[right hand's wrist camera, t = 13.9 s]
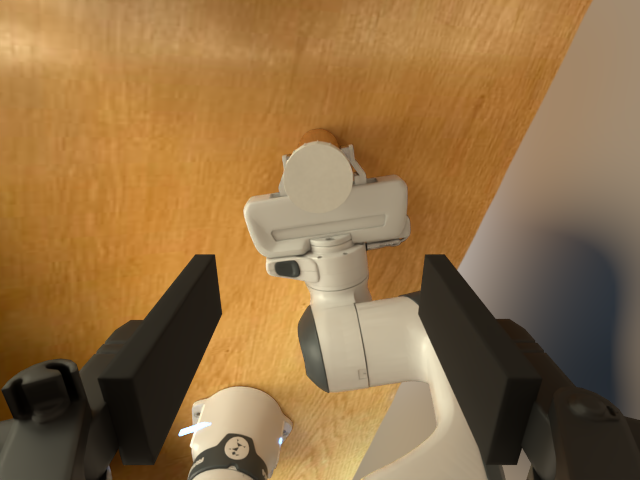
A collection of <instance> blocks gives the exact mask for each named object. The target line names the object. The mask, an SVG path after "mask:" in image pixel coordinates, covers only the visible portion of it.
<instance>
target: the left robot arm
mask: <svg viewBox="0 0 640 480" xmlns="http://www.w3.org/2000/svg"><path fill="white" fill-rule="evenodd" d="M340 149H341V150H342V152H343V153H344V154H345V156H346V157H347V159H349V161H350V163H351V165H352V166H353V167H354V169H355V170H356V171H357V172H354V173H353V178H354V181H353V185H352V189H351V192H350V194H349V196H348V197H347V199H346V200H345V201H344V202H343V203H342V204H341V205H340V206H339V207H337V208H336V209H334V210H332V211H329V212H325V213H311V212H307V211H305V210H302V209H301V208H299V207H298V206H296V205H295V204H294V203H293V202H292V201H291V200H290V198H289V197H288V195H287V193H286V191H285V188H284V183H283V176H282V179H281V182H280V185H279V192H278V193H271V194H265V195H258V196H253V197H251V198H250V199H249V200H248V201H247V203H246V205H245V207H244V217H245V221H246V224H247V227H248V230H249V233H250V235H251V238H252V240H253V243H254V245H255V247H256V249H257V250H258V251H259V253H260V254H262V255H263V256H265V257H267V258H266V270H267V272H268V274H269V275H271V276H275V277H283V278H290V279H296V280H301V281H305V284H306V286H307V288H308V290H309V292H310V295H311V300H310V305H309V306H308V307H307V309H306V310H305V312H304V313H303V315H302V317H301V319H300V321H299V323H298V337H299V342H300V346H301V350H302V354H303V357H304V361H305V368H306V374H307V376H308V377H309V378H310V379H311V380H312V381H313V382H314V383H315V384H316V385H317V386H318V387H319V388H321V389H322V390H324V391H325V392H327V393H329V392H344V391H351V390H358V389H365V388H369V387H373V386H380V385H387V384H393V383H400V382H407V381H419V382H424V383H427V384H429V387H430V392H431V397H432V403H433V408H434V413H435V418H436V423H437V427H436V429H435V430H434V432H433V433H432V434H431V435H430V436H429V437H428V438H427V439H426V440H425V441H424V442H422V443H421V444H420V445H419V446H417V447H416V448H415V449H413V450H412V451H410V452H409V453H407V454H406V455H404V456H402V457H401V458H399V459H397V460H396V461H394V462H392V463H390V464H388V465H386V466H384V467H382V468H380V469H378V470H376V471H374V472H372V473H370V474H368V475H367V476H365V477H363V478H362V479H360V480H506V479H505V475H504V471H503V467H502V465H486V464H485V461H484V459H483V457H482V455H481V452H480V450H479V448H478V446H477V444H476V441H475V439H474V437H473V435H472V433H471V430H470V428H469V426H468V424H467V421H466V419H465V417H464V415H463V413H462V410H461V408H460V406H459V404H458V402H457V399H456V397H455V395H454V393H453V391H452V388H451V386H450V384H449V382H448V379H447V377H446V375H445V373H444V371H443V368H442V366H441V364H440V362H439V360H438V357H437V355H436V353H435V351H434V348H433V346H432V344H431V342H430V340H429V337H428V335H427V333H426V331H425V329H424V326H423V324H422V322H421V320H420V317H419V315H418V309H419V301H420V293H421V291H417V292H413V293H409V294H404V295H400V296H398V297H394V298H388V299H381V300H375V301H372V297H371V294H370V292H369V290H368V286H367V285H368V278H369V270H368V261H367V252H366V251H367V250H373V249H379V248H383V247H389V246H390V247H394V246H398V245H400V243H401V242H403V241H405V240H406V239H407V238H408V237H409V235H410V232H411V227H410V219H409V217H408V215H407V201H408V191H407V185H406V183H405V181H404V180H403V179H402V178H400V177H399V176H398V175H387V176H381V177H374V178H368V179H366V173H365V172H364V170H363V169H362V167H361V166H360V165H359V163H358V162H357V161H356V159H355V157H354V149H353V145H352V144H349V145H343V146H340ZM291 155H292V154H286V155H283V156H282V160H283V165H284V169H285V166H286V162H287V160H289V158H290V156H291ZM283 174H284V173H283ZM399 238H402V239H399ZM365 242H366V243H365ZM192 418H193V426H191V427H188V428H185V429H182V430H181V431H180V433H179V436H182V435H185V434H188V433H191V432H193V433H194V434H193V437H192V440H191V444H190V447H191V448H192V457H193V465H192V467H191V469H190V472H189V475H188V480H267V478H271V476H272V474H273V470H274V469H275V468H276V466H277V463H278V461H279V455H280V449H281V445H282V444H283V442H284V441H285V439H286V438H287V436H288V435H289V433H290V432H291V430H292V427H293V423H292V421H291V420H290V419H289V418H288V417H286V416H285V415H284V414H283V412H282V411H281V408H280V406H279V405H278V403H277V402H276V401H275V400H274V399H273V398H272V397H271V396H270V395H268V394H267V393H265V392H263V391H261V390H258V389H255V388H251V387H243V386H238V387H230V388H226V389H223V390H221V391H219V392H217V393H215V394H214V395H213V396H211V397H209V398H207V399H203V400H199V401H196V402H195V403H194V404H193V407H192Z"/></svg>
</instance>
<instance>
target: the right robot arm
mask: <svg viewBox="0 0 640 480" xmlns="http://www.w3.org/2000/svg"><path fill="white" fill-rule="evenodd" d="M221 315H222V309H221V301H220V293H219V284H218V276H217V268H216V260H215V255H195V256H194V257H193V258H192V259H191V261H190V262H189V263H188V265H187V266H186V267H185V268H184V270H183V271H182V272H181V273H180V275H179V276H178V277H177V278H176V280H175V281H174V282H173V283H172V285H171V286H170V287H169V289H168V290H167V291H166V292H165V294H164V295H163V296H162V297H161V299H160V300H159V301H158V302H157V304H156V305H155V306H154V307H153V309H152V310H151V311H150V312H149V314H148V315H147V316H146V318H145V319H144V320H130V321H129V322H127V323H126V324H124V325H123V326H121V327H120V328H118V329H116V330H115V331H114V332H113V334H112V335H111V336H110V337H109V338H108V339H107V340H106V341H105V344H103V345H102V346H101V347H100V348H99V349H98V351H97V353H96V354H94V355H93V356H92V357H91V359H90V360H89V361H88V362H87V363H86V364H85V365H84V367H83V368H82V369H81V370H80V371H78V368H77V364H75V363H74V362H73V361H71V360H67V359H55V360H48V361H45V362H42V363H39V364H35V365H33V366H31V367H29V368H27V369H25V370H23V371H21V372H19V373H18V374H17V375H15V376H14V377H13V378H11V379H10V380H9V381H8V382H7V383H6V385H5V386H4V387H3V388H2V393H3V395H4V397H5V400H6V402H7V404H8V406H9V409H10V411H11V413H12V416H13V418H14V419H10V420H5V421H1V422H0V480H112V476H111V470H110V467H109V464H110V462H111V461H112V459H113V457H114V455H115V454H116V452H117V450H118V449H119V453H120V456H121V459H122V463H123V465H154V464H155V461H156V459H157V457H158V455H159V452H160V450H161V448H162V446H163V444H164V441H165V439H166V437H167V435H168V433H169V430H170V428H171V426H172V424H173V421H174V419H175V417H176V415H177V413H178V410H179V408H180V406H181V404H182V402H183V399H184V397H185V395H186V393H187V390H188V388H189V386H190V384H191V382H192V379H193V377H194V375H195V373H196V371H197V368H198V366H199V364H200V362H201V360H202V357H203V355H204V353H205V351H206V348H207V346H208V344H209V342H210V340H211V337H212V335H213V333H214V331H215V329H216V326H217V324H218V322H219V320H220V317H221ZM418 315H419V317H420V320H421V322H422V324H423V326H424V329H425V331H426V333H427V335H428V337H429V340H430V342H431V344H432V346H433V348H434V351H435V353H436V355H437V357H438V360H439V362H440V364H441V366H442V368H443V371H444V373H445V375H446V377H447V379H448V382H449V384H450V386H451V388H452V391H453V393H454V395H455V397H456V399H457V402H458V404H459V406H460V408H461V410H462V413H463V415H464V417H465V419H466V421H467V424H468V426H469V428H470V430H471V433H472V435H473V437H474V439H475V441H476V444H477V446H478V448H479V450H480V452H481V455H482V457H483V459H484V461H485V464H486V465H517V463H518V459H519V456H520V453H521V449H522V448H523V450H524V452H525V453H526V455H527V457H528V459H529V460H530V462H531V467H530V470H529V473H528V476H527V479H526V480H640V420H637V419H633V418H628V417H625V416H623V414H622V413H621V412H620V410H619V409H618V408H617V407H616V406H614V405H613V404H612V403H611V402H610V401H609V400H607V399H605V398H603V397H602V396H600V395H598V394H596V393H594V392H591V391H589V390H586V389H583V388H578V387H576V386H575V385H574V384H573V383H572V382H571V381H570V380H569V378H568V377H567V376H566V375H565V374H564V373H563V372H562V371H561V369H560V368H559V367H558V366H557V365H556V364H555V363H554V362H553V360H552V359H551V358H550V357H549V356H548V355H547V354H546V353H544V350H543V349H542V348H541V347H540V346H539V344H538V343H535V340H534V339H533V338H532V337H531V335H530V334H529V333H528V332H527V331H526V330H525V329H524V328H523V327H521V326H519V325H518V324H516V323H515V322H513V321H512V320H510V319H495V318H494V316H493V315H492V314H491V313H490V311H489V310H488V309H487V307H486V306H485V305H484V304H483V302H482V301H481V300H480V299H479V297H478V296H477V295H476V294H475V292H474V291H473V290H472V289H471V287H470V286H469V285H468V283H467V282H466V281H465V280H464V278H463V277H462V276H461V275H460V273H459V272H458V271H457V270H456V268H455V267H454V266H453V265H452V263H451V262H450V261H449V259H448V258H447V257H446V256H445V255H425V260H424V268H423V276H422V284H421V293H420V301H419V309H418Z"/></svg>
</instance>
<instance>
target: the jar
mask: <svg viewBox="0 0 640 480" xmlns="http://www.w3.org/2000/svg"><path fill="white" fill-rule="evenodd" d="M317 140H318V141H322V142H327V143H331V144H332V145H334V146H336V147H338V148H339V149H340V146H339V144H338V141H337V139H336V138H335V136H334V135H333V134H332V133H330V132H329V131H327V130H324V129H313V130H310V131H308V132H307V133H306V134H304V135H303V137H302V138H301V140H300V142H299V144H298V147H297V149H298V148H299V147H300V146H302V145H304V143H309V142H315V141H317Z"/></svg>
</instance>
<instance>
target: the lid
mask: <svg viewBox="0 0 640 480" xmlns="http://www.w3.org/2000/svg"><path fill="white" fill-rule="evenodd" d="M283 183H284V188H285V191H286V193H287V195H288V197H289V198H290V200H291V201H292V202H293V203H294V204H295V205H296V206H298V207H299V208H301V209H302V210H305V211H307V212H311V213H325V212H329V211H332V210H334V209H336V208H337V207H339V206H340V205H341V204H342V203H343V202H344V201H345V200H346V199H347V197H348V196H349V194H350V192H351V189H352V185H353V172H352V168H351V165H350V161H349V159H347V157H346V156H345V154H344V153H343V152H342V150H341V149H339V148H338V147H336V146H334V145H332V144H331V143H327V142H322V141H318V140H317V141H315V142H309V143H304V145H302V146H300V147H299V148H298V149H296V150H294V151H293V154H292V155H291V156H290V158H289V160H287V162H286V166H285V169H284V174H283Z"/></svg>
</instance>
